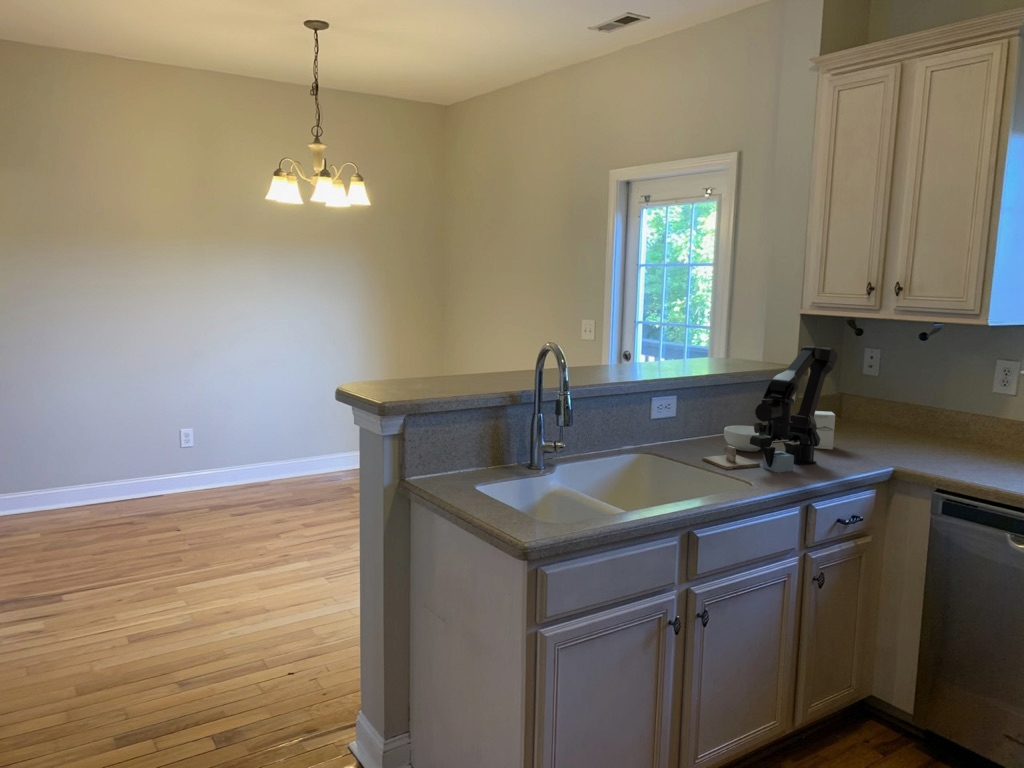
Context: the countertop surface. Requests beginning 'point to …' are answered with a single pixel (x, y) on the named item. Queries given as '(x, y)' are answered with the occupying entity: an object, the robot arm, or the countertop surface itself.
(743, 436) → the cereal bowl
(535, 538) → the countertop surface
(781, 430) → the robot arm
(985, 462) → the countertop surface
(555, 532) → the countertop surface
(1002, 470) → the countertop surface
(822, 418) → the supplement box
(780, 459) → the blue-grey square socket block
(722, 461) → the wooden peg base
